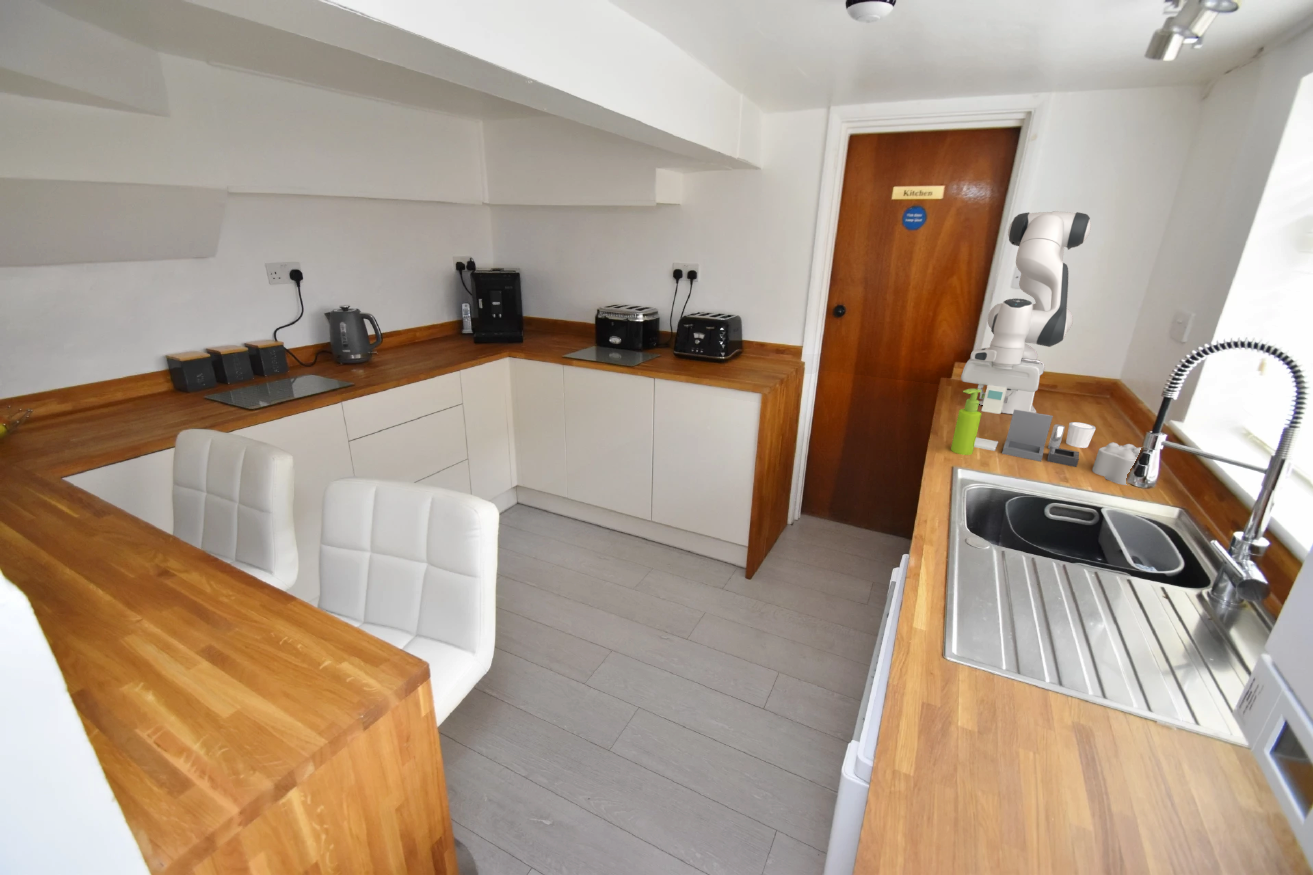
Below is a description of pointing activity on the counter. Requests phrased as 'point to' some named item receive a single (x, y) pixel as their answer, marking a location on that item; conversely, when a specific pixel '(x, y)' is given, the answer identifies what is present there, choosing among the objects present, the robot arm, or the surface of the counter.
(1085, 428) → the white faceted tapered cup
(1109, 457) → the lumpy-topped squat cylinder
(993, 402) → the block
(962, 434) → the soap dispenser
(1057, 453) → the rod bracket
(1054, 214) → the robot arm
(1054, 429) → the rod
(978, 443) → the plate
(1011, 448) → the grey device stand
